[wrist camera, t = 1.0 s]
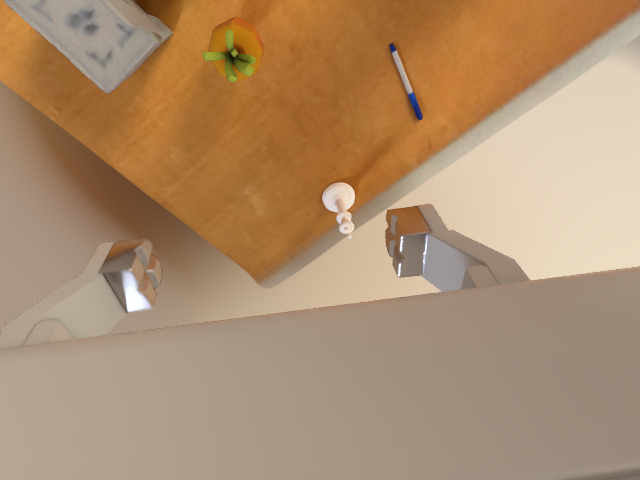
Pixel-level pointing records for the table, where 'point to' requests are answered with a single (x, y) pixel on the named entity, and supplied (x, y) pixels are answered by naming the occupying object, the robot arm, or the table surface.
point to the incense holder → (96, 34)
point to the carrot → (235, 49)
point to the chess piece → (340, 204)
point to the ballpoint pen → (406, 82)
